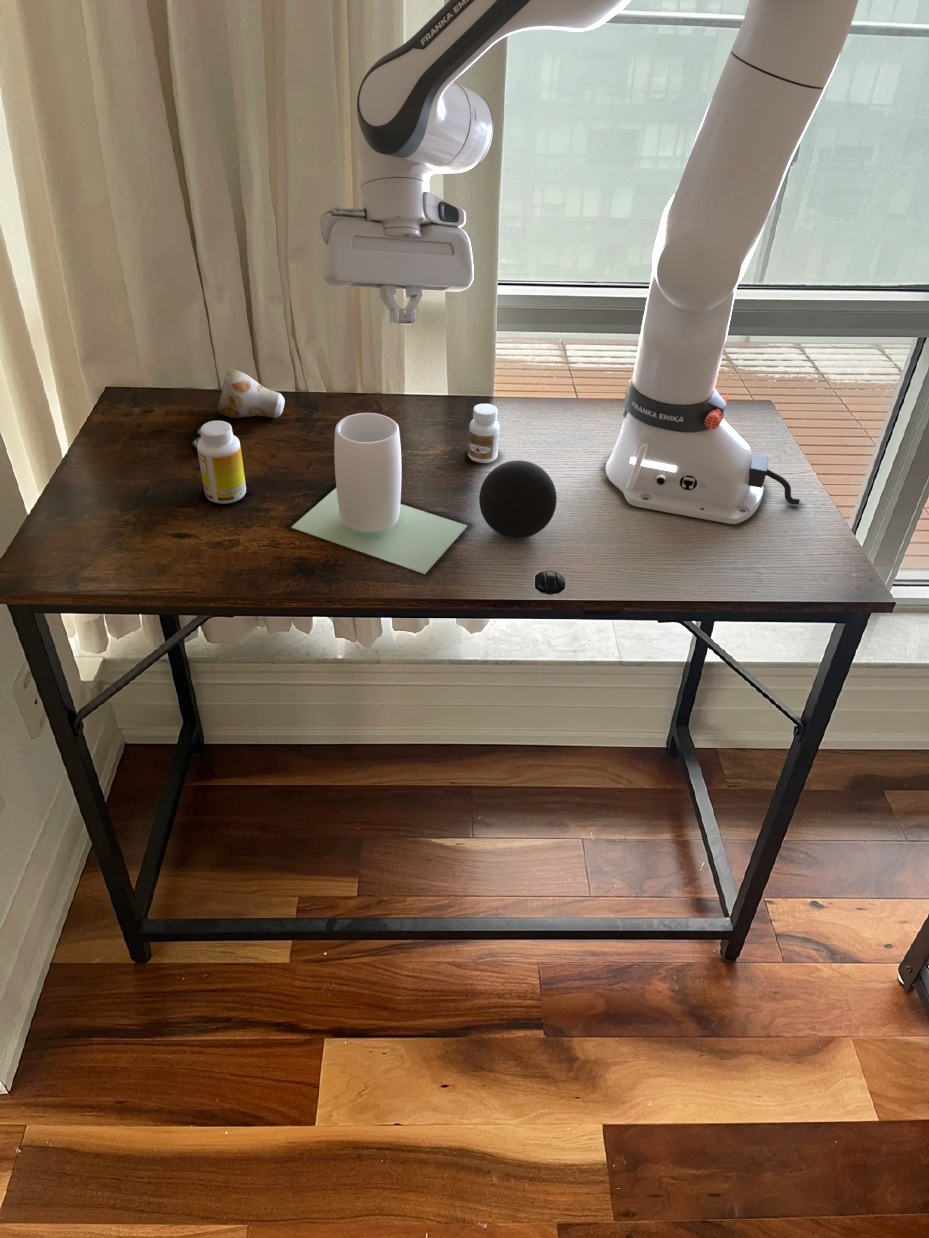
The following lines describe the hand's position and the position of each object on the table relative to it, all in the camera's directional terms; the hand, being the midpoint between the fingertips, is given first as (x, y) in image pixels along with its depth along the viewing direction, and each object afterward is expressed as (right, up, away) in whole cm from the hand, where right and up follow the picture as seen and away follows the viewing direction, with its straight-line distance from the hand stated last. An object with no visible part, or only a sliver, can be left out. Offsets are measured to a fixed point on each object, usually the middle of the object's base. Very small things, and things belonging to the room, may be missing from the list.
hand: (402, 324), depth 122 cm
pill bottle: (+11, -15, +16) cm, 24 cm away
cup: (-5, -26, +2) cm, 26 cm away
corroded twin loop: (-29, -13, +16) cm, 35 cm away
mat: (-3, -27, +2) cm, 27 cm away
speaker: (+15, -27, +2) cm, 31 cm away
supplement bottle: (-25, -22, +6) cm, 33 cm away
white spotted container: (-25, -7, +23) cm, 34 cm away
